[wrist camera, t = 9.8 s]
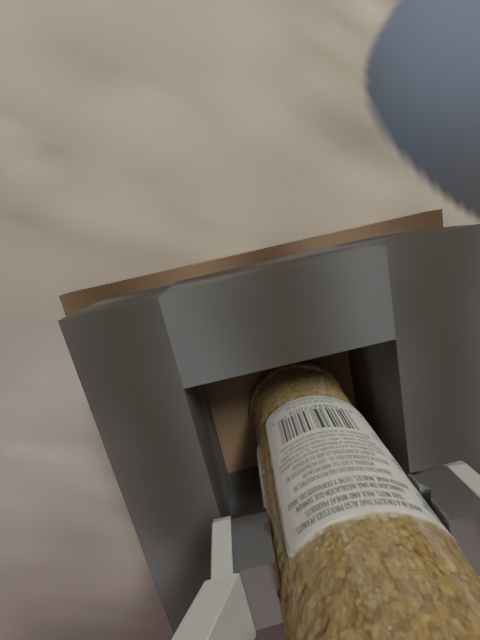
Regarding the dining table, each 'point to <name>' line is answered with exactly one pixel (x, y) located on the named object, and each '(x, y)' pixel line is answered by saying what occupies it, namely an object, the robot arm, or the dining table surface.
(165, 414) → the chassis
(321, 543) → the sprinkles bottle
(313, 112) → the dining table surface
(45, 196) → the dining table surface
